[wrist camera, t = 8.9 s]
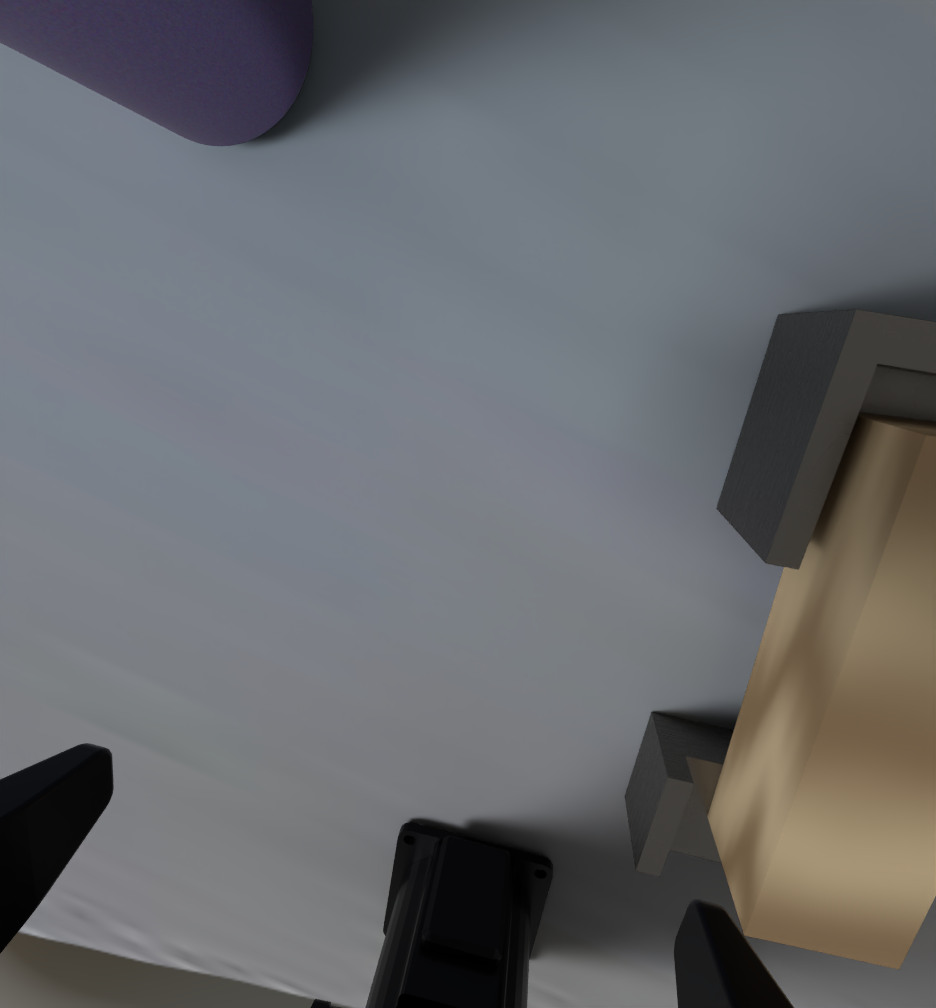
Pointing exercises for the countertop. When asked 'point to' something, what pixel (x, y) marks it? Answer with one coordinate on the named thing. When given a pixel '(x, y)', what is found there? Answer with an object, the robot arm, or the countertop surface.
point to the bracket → (819, 417)
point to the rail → (844, 719)
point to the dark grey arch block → (674, 791)
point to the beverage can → (175, 57)
